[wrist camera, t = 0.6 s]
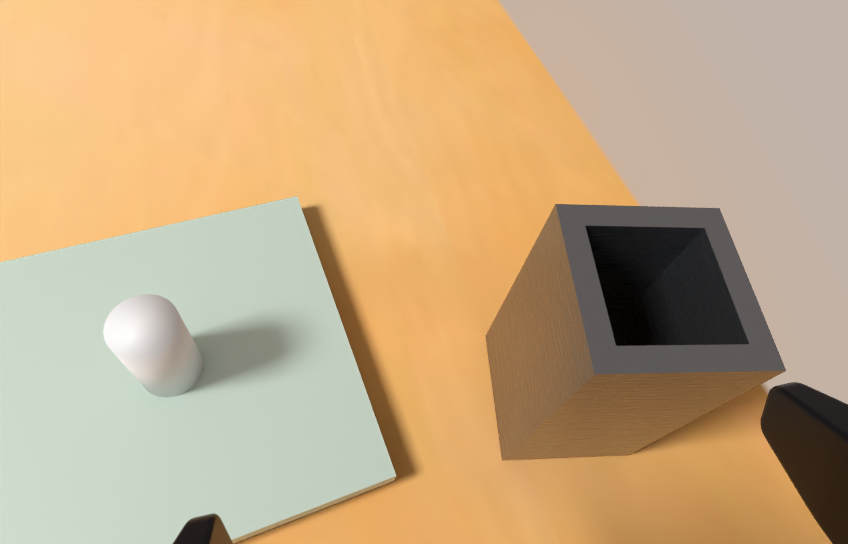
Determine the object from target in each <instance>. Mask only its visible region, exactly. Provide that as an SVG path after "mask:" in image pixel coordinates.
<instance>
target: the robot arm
mask: <svg viewBox="0 0 848 544" xmlns="http://www.w3.org/2000/svg"><path fill="white" fill-rule="evenodd" d="M761 429H762V432H763V434H764V436H765V438H766V440H767V441H768V443H769V445H770V446H771V448H772V450H773V451H774V453H775V455H776V456H777V458H778V460H779V461H780V463H781V465H782V466H783V468H784V469H785V471H786V473H787V474H788V476H789V478H790V479H791V481H792V483H793V484H794V486H795V488H796V489H797V491H798V493H799V494H800V496H801V498H802V499H803V501H804V503H805V504H806V506H807V507H808V509H809V511H810V512H811V514H812V515H813V517H814V518H815V520H816V521H817V523H818V524H819V526H820V527H821V528H822V530H823V531H824V533H825V534H826V535H827V537H828V538H829V539H830V541H831V542H832V544H848V404H846V403H843V402H841V401H839V400H837V399H835V398H833V397H830V396H828V395H826V394H824V393H821V392H819V391H817V390H815V389H813V388H811V387H808V386H806V385H804V384H801V383H796V382H795V383H794V382H793V383H787V384H784V385H779V386H775V387H773V388H772V389H771V390H770V391H769V394H768V397H767V400H766V404H765V407H764V410H763V414H762V417H761ZM173 544H233V542H232V540H231V538H230V536H229V534H228V532H227V530H226V528H225V526H224V524H223V522H222V520H221V518H220V517H219V515H217V514H215V513H212V514H208V515H203V516H199V517H194V518H192V519H190V520H189V521H187V523H186V524H185V525H184V527H183V528H182V530H181V531H180V533H179V534H178V536H177V537H176V539H175V541H174V542H173Z"/></svg>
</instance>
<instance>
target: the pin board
mask: <svg viewBox="0 0 848 544" xmlns="http://www.w3.org/2000/svg"><path fill="white" fill-rule="evenodd" d="M395 478H396V473H395V470H394V468H393V465H392V462H391V459H390V456H389V454H388V451H387V448H386V445H385V442H384V439H383V437H382V434H381V431H380V428H379V425H378V423H377V420H376V417H375V414H374V411H373V408H372V406H371V403H370V400H369V397H368V394H367V392H366V389H365V386H364V383H363V380H362V377H361V375H360V372H359V369H358V366H357V363H356V361H355V358H354V355H353V352H352V349H351V346H350V344H349V341H348V338H347V335H346V332H345V330H344V327H343V324H342V321H341V318H340V316H339V313H338V310H337V307H336V304H335V301H334V299H333V296H332V293H331V290H330V287H329V285H328V282H327V279H326V276H325V273H324V270H323V268H322V265H321V262H320V259H319V256H318V254H317V251H316V248H315V245H314V242H313V239H312V237H311V234H310V231H309V228H308V225H307V223H306V220H305V217H304V214H303V211H302V208H301V206H300V203H299V200H298V197H297V196H296V197H292V198H287V199H283V200H278V201H274V202H269V203H265V204H260V205H256V206H251V207H247V208H242V209H238V210H233V211H229V212H224V213H220V214H215V215H211V216H206V217H202V218H197V219H193V220H188V221H184V222H179V223H175V224H170V225H166V226H161V227H157V228H152V229H148V230H143V231H139V232H135V233H130V234H126V235H121V236H117V237H112V238H108V239H103V240H99V241H94V242H90V243H85V244H81V245H76V246H72V247H67V248H63V249H58V250H54V251H49V252H45V253H40V254H36V255H31V256H27V257H22V258H18V259H13V260H9V261H4V262H0V544H173V542H174V541H175V539H176V537H177V536H178V534H179V533H180V531H181V530H182V528H183V527H184V525H185V524H186V523H187V521H189V520H190V519H192V518H194V517H199V516H203V515H208V514H212V513H215V514H217V515H219V517H220V518H221V520H222V522H223V524H224V526H225V528H226V530H227V532H228V534H229V536H230V538H231V540H232V542H233V544H234V543H237V542H239V541H242V540H245V539H247V538H250V537H252V536H255V535H257V534H260V533H262V532H265V531H268V530H270V529H273V528H275V527H278V526H280V525H283V524H285V523H288V522H291V521H293V520H296V519H298V518H301V517H303V516H306V515H308V514H311V513H314V512H316V511H319V510H321V509H324V508H326V507H329V506H331V505H334V504H337V503H339V502H342V501H344V500H347V499H349V498H352V497H354V496H357V495H360V494H362V493H365V492H367V491H370V490H372V489H375V488H377V487H380V486H383V485H385V484H388V483H390V482H393V481H394V480H395Z"/></svg>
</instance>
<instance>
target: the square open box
mask: <svg viewBox="0 0 848 544" xmlns="http://www.w3.org/2000/svg"><path fill="white" fill-rule="evenodd" d="M486 342H487V349H488V357H489V364H490V372H491V379H492V387H493V395H494V402H495V410H496V417H497V425H498V433H499V440H500V448H501V455H502V460H522V459H546V458H571V457H595V456H620V455H630V454H632V453H634V452H636V451H638V450H640V449H641V448H643V447H645V446H647V445H649V444H651V443H653V442H654V441H656V440H658V439H660V438H662V437H664V436H666V435H668V434H669V433H671V432H673V431H675V430H677V429H679V428H681V427H682V426H684V425H686V424H688V423H690V422H692V421H694V420H695V419H697V418H699V417H701V416H703V415H705V414H707V413H708V412H710V411H712V410H714V409H716V408H718V407H720V406H721V405H723V404H725V403H727V402H729V401H731V400H733V399H734V398H736V397H738V396H740V395H742V394H744V393H746V392H747V391H749V390H751V389H753V388H755V387H757V386H759V385H760V384H762V383H764V382H766V381H768V380H770V379H772V378H773V377H775V376H777V375H779V374H781V373H783V372H785V371H786V369H785V367H784V365H783V362H782V360H781V357H780V355H779V352H778V350H777V348H776V345H775V343H774V340H773V338H772V335H771V333H770V330H769V328H768V326H767V323H766V321H765V318H764V316H763V313H762V311H761V308H760V306H759V304H758V301H757V299H756V296H755V294H754V291H753V289H752V287H751V284H750V282H749V279H748V277H747V274H746V272H745V270H744V267H743V265H742V262H741V260H740V257H739V255H738V253H737V250H736V248H735V245H734V243H733V240H732V238H731V236H730V233H729V231H728V228H727V226H726V223H725V221H724V219H723V216H722V214H721V211H720V209H719V208H686V207H685V208H684V207H683V208H682V207H647V206H608V205H569V204H555V206H554V208H553V210H552V212H551V214H550V216H549V218H548V220H547V221H546V223H545V225H544V227H543V229H542V231H541V233H540V235H539V237H538V238H537V240H536V242H535V244H534V246H533V248H532V250H531V252H530V254H529V255H528V257H527V259H526V261H525V263H524V265H523V267H522V269H521V271H520V272H519V274H518V276H517V278H516V280H515V282H514V284H513V286H512V287H511V289H510V291H509V293H508V295H507V297H506V299H505V301H504V303H503V304H502V306H501V308H500V310H499V312H498V314H497V316H496V318H495V320H494V321H493V323H492V325H491V327H490V329H489V331H488V333H487V335H486Z"/></svg>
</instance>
